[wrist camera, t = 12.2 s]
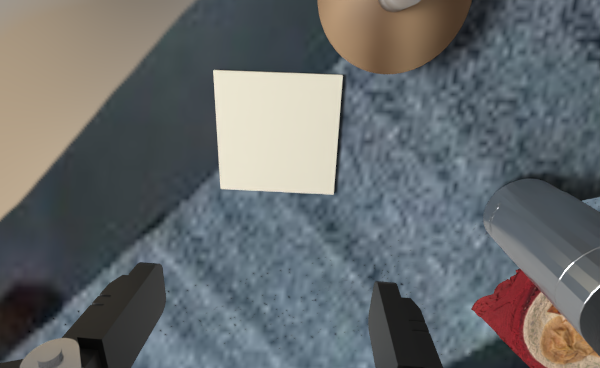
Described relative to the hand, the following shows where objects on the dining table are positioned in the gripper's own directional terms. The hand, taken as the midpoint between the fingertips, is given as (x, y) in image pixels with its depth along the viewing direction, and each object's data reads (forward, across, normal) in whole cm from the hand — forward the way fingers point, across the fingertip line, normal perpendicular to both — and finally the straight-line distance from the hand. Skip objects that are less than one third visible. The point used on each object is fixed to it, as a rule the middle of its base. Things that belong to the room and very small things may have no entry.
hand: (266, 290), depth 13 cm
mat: (+31, +3, +2) cm, 31 cm away
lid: (+25, -8, -13) cm, 29 cm away
